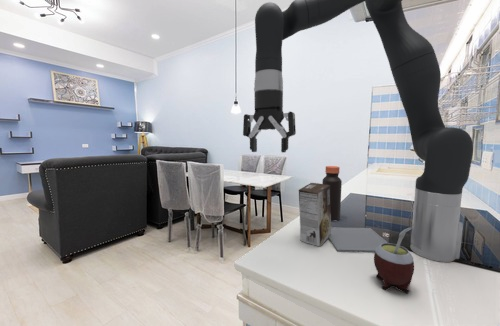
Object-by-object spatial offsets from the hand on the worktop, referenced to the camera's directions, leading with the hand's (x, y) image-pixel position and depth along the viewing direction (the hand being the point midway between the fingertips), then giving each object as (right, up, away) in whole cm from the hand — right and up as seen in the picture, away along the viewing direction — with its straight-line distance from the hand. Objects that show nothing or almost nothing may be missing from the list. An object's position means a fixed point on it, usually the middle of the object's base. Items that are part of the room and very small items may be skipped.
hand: (268, 152), depth 60 cm
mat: (+27, -26, +7) cm, 38 cm away
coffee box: (+15, -26, +7) cm, 31 cm away
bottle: (+26, -25, +25) cm, 44 cm away
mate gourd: (+25, -29, -14) cm, 41 cm away
